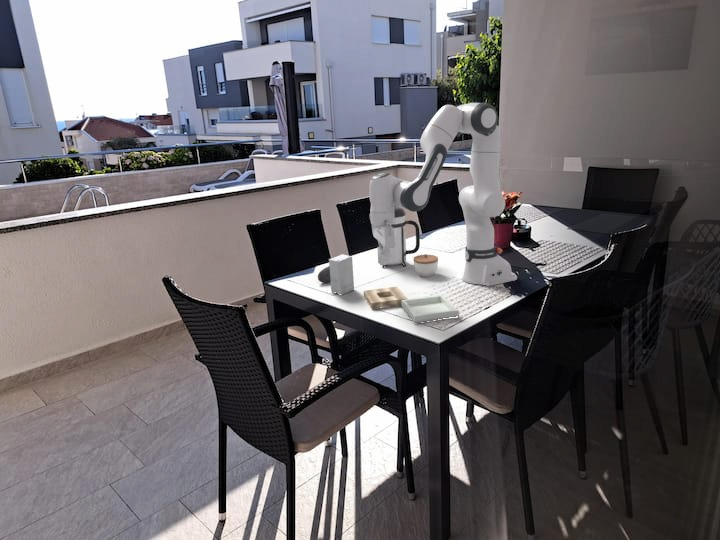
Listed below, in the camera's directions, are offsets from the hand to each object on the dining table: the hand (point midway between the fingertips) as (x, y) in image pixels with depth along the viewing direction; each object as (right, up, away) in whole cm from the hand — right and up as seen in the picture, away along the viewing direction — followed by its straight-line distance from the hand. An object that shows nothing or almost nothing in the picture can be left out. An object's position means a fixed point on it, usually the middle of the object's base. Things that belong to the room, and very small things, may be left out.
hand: (384, 253), depth 185 cm
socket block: (+1, -18, +6) cm, 19 cm away
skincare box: (-16, -15, +19) cm, 29 cm away
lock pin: (0, -3, +1) cm, 4 cm away
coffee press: (+8, -3, +50) cm, 51 cm away
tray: (+16, -22, -8) cm, 28 cm away
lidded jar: (+20, -8, +33) cm, 40 cm away
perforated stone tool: (-21, -11, +33) cm, 41 cm away
